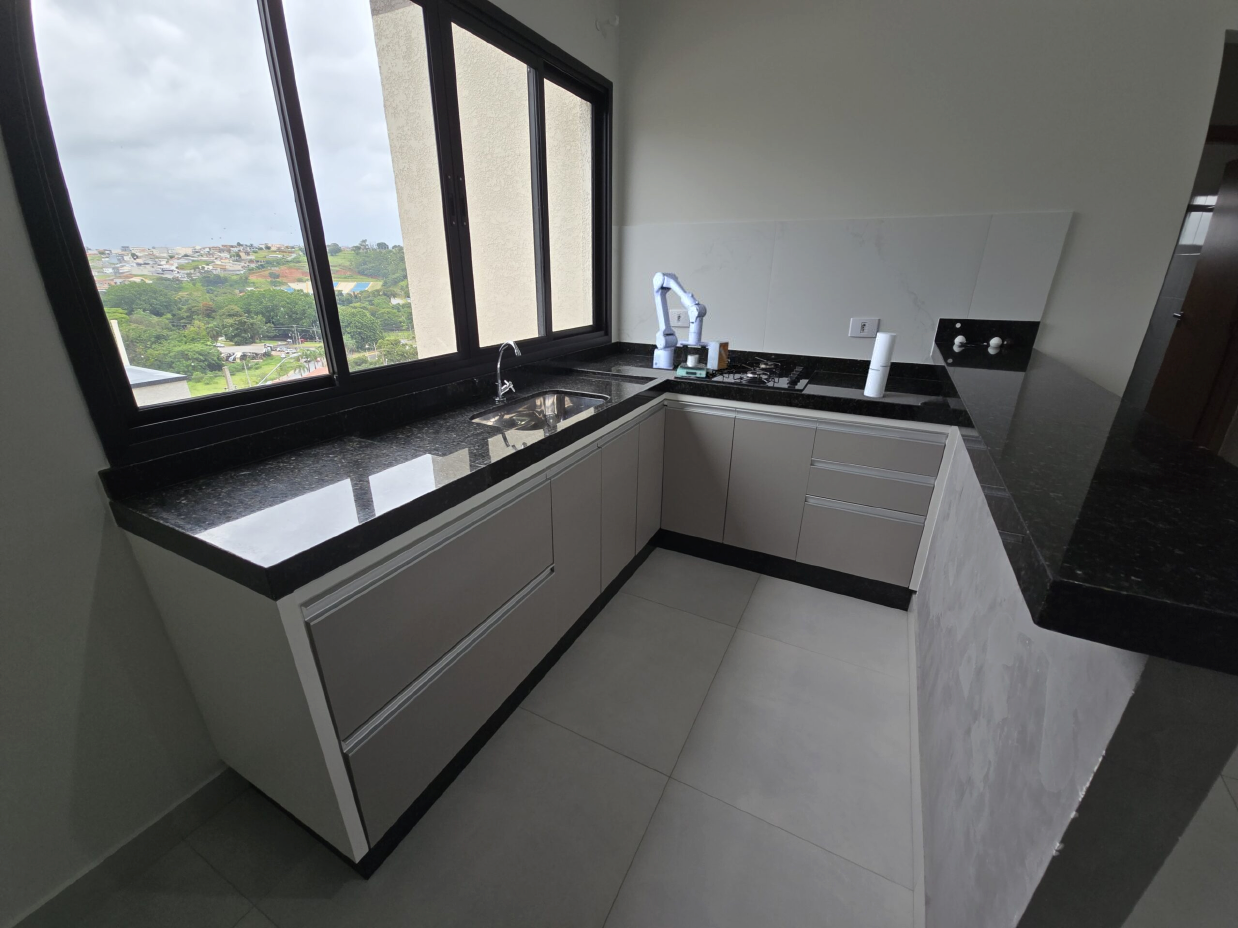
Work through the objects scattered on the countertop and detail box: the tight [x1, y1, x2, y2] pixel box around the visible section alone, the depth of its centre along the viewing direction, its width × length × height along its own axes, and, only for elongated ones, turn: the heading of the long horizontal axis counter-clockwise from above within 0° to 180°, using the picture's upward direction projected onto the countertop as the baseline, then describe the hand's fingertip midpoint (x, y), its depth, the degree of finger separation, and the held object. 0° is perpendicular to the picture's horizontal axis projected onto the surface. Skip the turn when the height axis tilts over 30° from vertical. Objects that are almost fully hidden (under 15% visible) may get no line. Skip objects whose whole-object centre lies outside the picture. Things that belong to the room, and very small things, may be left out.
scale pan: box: [679, 362, 706, 370], centre depth 236 cm, size 11×9×1 cm
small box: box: [706, 340, 730, 370], centre depth 251 cm, size 8×6×13 cm
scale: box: [676, 365, 708, 378], centre depth 237 cm, size 13×11×2 cm
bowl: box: [686, 354, 700, 366], centre depth 235 cm, size 5×5×4 cm
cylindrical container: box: [863, 331, 898, 398], centre depth 204 cm, size 7×7×25 cm
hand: (692, 362), depth 235 cm, fingers open, 6 cm apart
